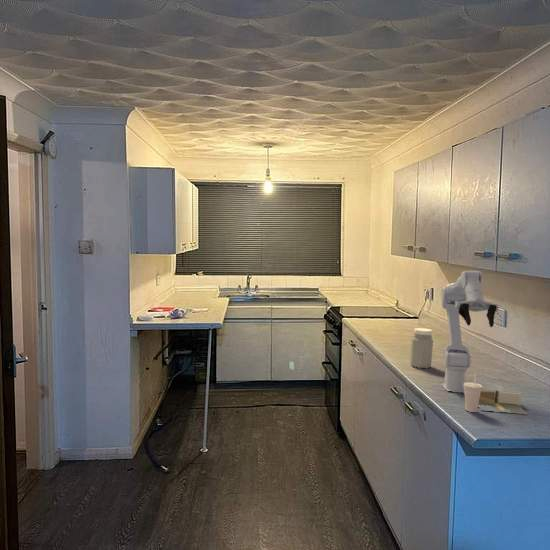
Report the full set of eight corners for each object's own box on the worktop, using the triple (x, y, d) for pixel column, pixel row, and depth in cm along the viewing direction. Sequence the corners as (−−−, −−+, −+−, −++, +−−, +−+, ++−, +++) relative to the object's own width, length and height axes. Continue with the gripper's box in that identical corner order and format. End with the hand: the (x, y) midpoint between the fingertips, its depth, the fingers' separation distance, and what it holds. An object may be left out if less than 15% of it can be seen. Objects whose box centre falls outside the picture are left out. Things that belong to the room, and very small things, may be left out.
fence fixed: (470, 401, 190) (472, 388, 190) (496, 403, 189) (497, 390, 189) (471, 402, 189) (472, 389, 189) (497, 404, 188) (498, 391, 188)
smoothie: (480, 415, 176) (483, 376, 174) (461, 412, 178) (464, 374, 177) (480, 409, 181) (483, 372, 180) (461, 406, 184) (464, 369, 183)
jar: (432, 370, 233) (434, 332, 231) (410, 367, 235) (413, 330, 233) (429, 364, 243) (432, 328, 241) (409, 362, 244) (411, 326, 243)
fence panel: (498, 402, 188) (499, 392, 188) (497, 401, 189) (498, 391, 189) (520, 404, 187) (521, 394, 187) (519, 403, 188) (520, 393, 188)
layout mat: (468, 396, 196) (468, 395, 196) (512, 400, 194) (512, 399, 194) (480, 411, 180) (480, 410, 180) (528, 415, 178) (528, 414, 178)
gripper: (456, 287, 181) (461, 315, 172) (497, 289, 180) (505, 318, 170) (452, 299, 186) (457, 328, 177) (492, 302, 185) (499, 331, 175)
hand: (480, 324), depth 174 cm, fingers open, 7 cm apart
